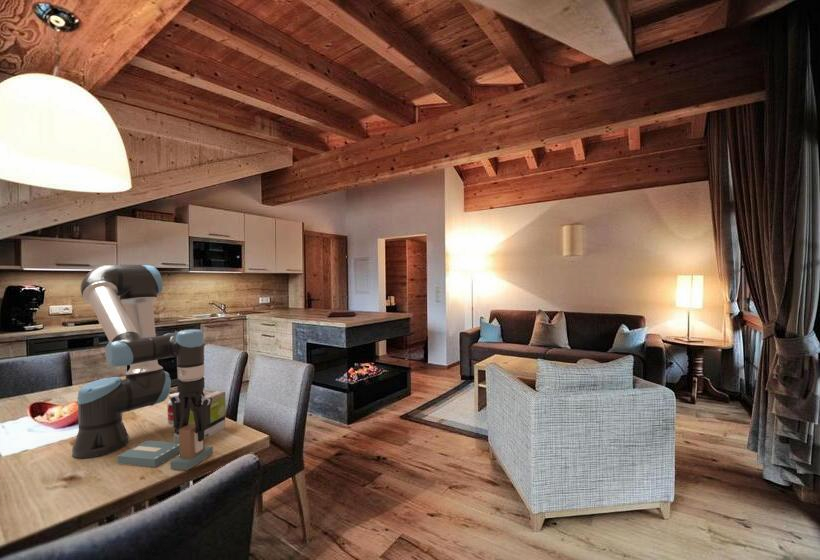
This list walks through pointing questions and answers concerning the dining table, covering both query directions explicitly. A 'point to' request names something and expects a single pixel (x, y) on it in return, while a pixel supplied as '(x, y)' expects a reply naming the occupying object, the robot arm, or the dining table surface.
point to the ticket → (149, 454)
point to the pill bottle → (171, 407)
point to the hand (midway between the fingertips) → (192, 449)
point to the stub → (189, 449)
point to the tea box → (215, 414)
